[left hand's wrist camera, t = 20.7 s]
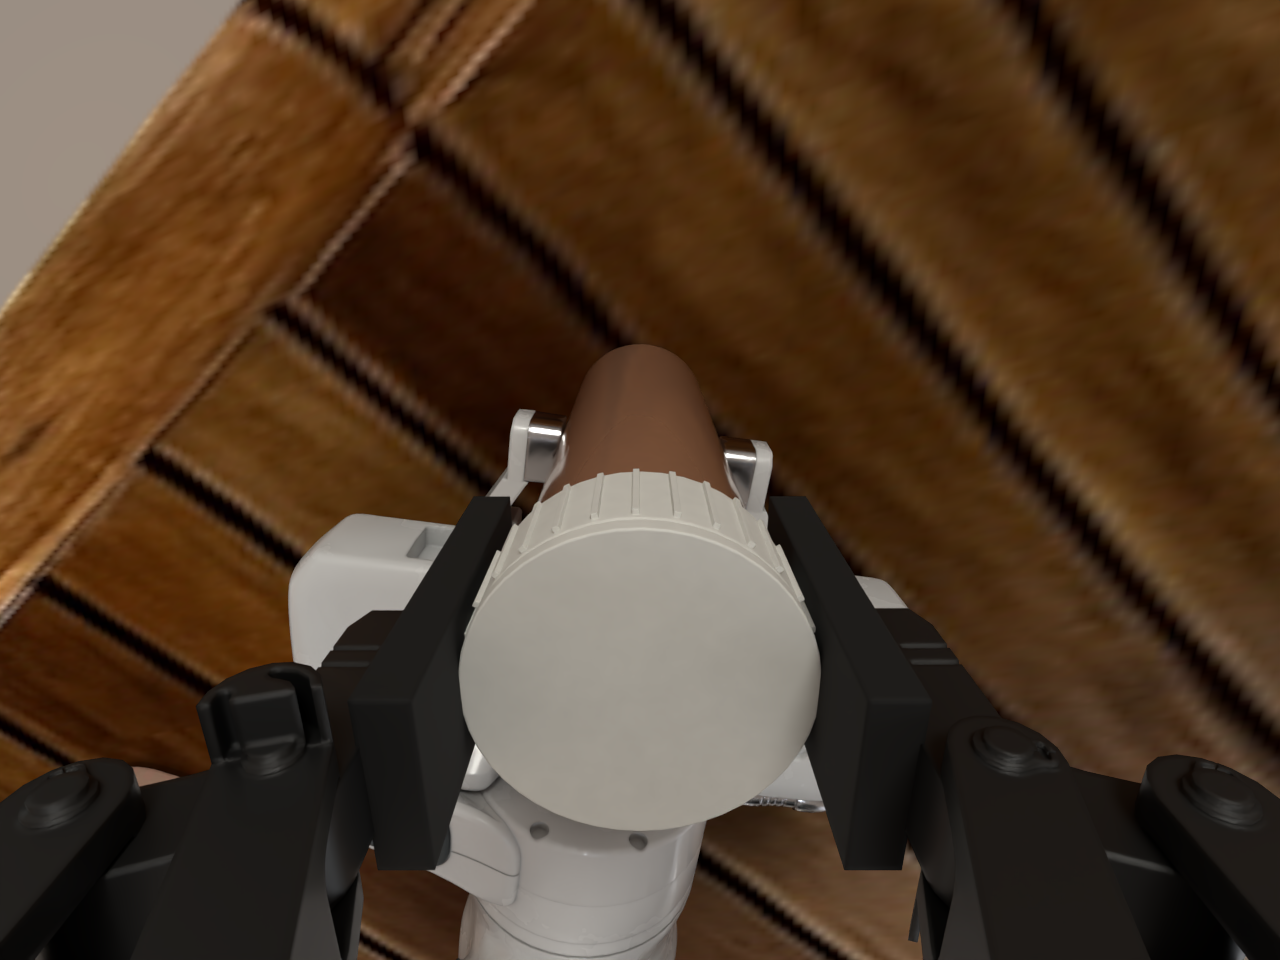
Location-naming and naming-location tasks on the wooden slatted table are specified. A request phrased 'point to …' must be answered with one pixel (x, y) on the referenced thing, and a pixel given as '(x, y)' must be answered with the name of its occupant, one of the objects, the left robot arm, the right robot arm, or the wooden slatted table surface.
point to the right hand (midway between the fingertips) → (642, 429)
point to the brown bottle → (640, 424)
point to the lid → (640, 655)
